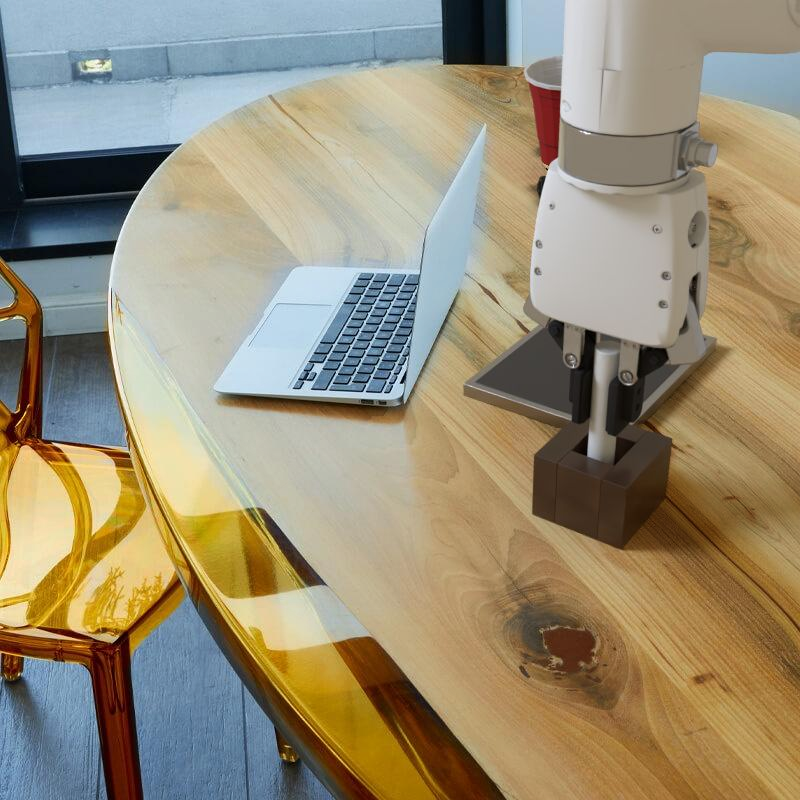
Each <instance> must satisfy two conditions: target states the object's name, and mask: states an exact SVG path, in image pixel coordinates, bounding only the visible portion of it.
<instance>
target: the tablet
mask: <svg viewBox="0 0 800 800" xmlns="http://www.w3.org/2000/svg"><path fill="white" fill-rule="evenodd" d="M703 337H704V341H705V344H706V349H707V351H706V353H705V354H704V355H703V356H702V357H701V358H700V359H699V360H698V361H697V362H696V363H694V364H686V365H672V366H671V365H663V366H662V367H660V368H659V369H657V370H655V371H653V372H652V373H650V374H648V375H646V376H645V386H644V396H643V406H642V411H641V414H640V416H639V418H638V419H637V420H636V421H635V422H634V423H631V422H630V423H629V424H630V425H633V426H636V427H639V428H642V426H643V425H644V424H646V422H647V421H648V420H649V419H650V418H651V417H652V415H653V414H655V413H656V412H657V410H658V409H659V408H660V407H661V406H662V405H663V404H665V402H667V400H668V399H669V398H670V397H671V396H672V395H673V394H674V393H675V392H676V391H677V390H678V389H679V388H680V387H681V386H682V385H683V383H684V382H686V380H688V379H689V378H690V376H691V375H693V373H694V372H695V371H697V369H698V368H699V367H700V366H701V365H702V364H703V363H704V362H705V361H706V360H707V359H708V358H709V357H710V356H711V355H712V354H713V352H715V351H716V349H717V344H718V343H717V342H718V338H717V337H715V336H711V335H707V334H703ZM602 341H615V342H618V343H620V344H621V339H619V338H615V337H612V336H608V335H605V334H601V333H600V342H602ZM570 370H571V368H569V367H568V366H566V364H565V363H564V361H563V351H562V350H561V349H560V347H559V346H558V344H557V343H556V342H555V340H554V339H553V338H552V336H551V335H550V333H549V332H548V329H547V328H543V327H542V326H540V325H539V324H538V325H537V326H535V327H534V328H533V329H532V330H529V332H528V333H526V334H525V335H524V336H522V337H521V338H520V339H518V340H517V341H516V342H515V343H514V344H512V345H511V346H510V347H509V348H507V349H506V350H505V351H503V352H502V353H500V355H498V356H497V357H496V358H495V359H493V360H492V361H491V362H489V363H488V364H486V365H485V366H484V367H483V368H481V370H478V372H476V373H475V374H474V375H473V376H471V377H470V378H468V380H466V381H465V382H464V383H463V390H462V391H463V392H462V393H463V396H465V397H468V398H471V399H474V400H477V401H480V402H483V403H486V404H488V405H492V406H494V407H497V408H499V409H503V410H506V411H508V412H511V413H515V414H517V415H520V416H523V417H526V418H529V419H532V420H536V421H538V422H540V423H543V424H547V425H549V426H552V427H555V428H558V429H560V430H561V429H562V428H563V427H564V426H565V425H566V424H567V423H569V422H570V421H571V420H572V404H573V403H571V402H569V387H570Z"/></svg>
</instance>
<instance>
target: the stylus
mask: <svg viewBox="0 0 800 800" xmlns="http://www.w3.org/2000/svg"><path fill="white" fill-rule="evenodd" d="M620 348H621V344H620V343H618V342H615V341H602V342H599V343H597V344H596V346H595V353H594V367H593V382H592V396H591V410H590V425H589V439H588V453H587V456H588V457H590V458H593V459H596V460H599V461H602V462H605V463H607V464H610V465H613V466H614V458H615V446H616V437H614V436H611V435H608V434H607V432H606V431H605V428H606V415H607V402H608V389H609V384H610V382H611V381H612V380H613V379H614V378H615V377H616V376H617V372H618V369H619V358H620Z"/></svg>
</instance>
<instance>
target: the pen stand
mask: <svg viewBox="0 0 800 800" xmlns="http://www.w3.org/2000/svg"><path fill="white" fill-rule="evenodd" d="M589 425H590V418H589V419H588V420H587V421H586V422H585V423H581V424H580V425H579V424H576V423H573V422H572V420H571V421H570V422H569V423H567V424H566V425H565V426H564V427H563V428H562V429H561V428H560V430H558V431H557V432H556V433H555V434H554V435H553V436H552V437H551V438H550V439H549V440H548V441H547V442H545V444H544V445H542V446H541V448H539V449H538V450H537V451H536V452H535V453H534V454H533V470H532V497H531V498H532V502H531V507H532V508H531V514H532V515H534V516H536V517H538V518H541V519H544V520H545V521H548V522H551V523H554V524H556V525H558V526H561V527H563V528H566V529H569V530H571V531H573V532H576V533H578V534H581V535H584V536H586V537H589V538H590V539H594V540H597V541H599V542H601V543H603V544H607V545H609V546H611V547H614V548H617V549H619V550H623V548H625V546H626V545H627V544H628V543H629V542H630V540H631V539H632V538H633V537H634V536H635V534H636V533H637V532H638V531H639V529H640V528H641V527H642V526H643V525H644V524H645V523H646V522H647V520H648V519H649V518H650V517H651V516H652V514H653V513H654V512H655V511H656V510H657V509H658V508H659V506H660V505H661V504H662V503H663V502H664V500H665V499H666V498H667V493H668V492H667V491H668V481H669V474H670V465H671V457H672V448H673V440H674V439H673V437H670V436H667V435H664V434H661V433H658V432H654V431H652V430H648V429H646V428H642V427H640V428H639V427H636V426H633V425H630V424H628V425H627V426H626V427H625V428H624V429H623V430H622V431H621V432H620V433H619V434H618V435H617V436H616V446H615V458H614V466H613V465H610V464H607V463H605V462H602V461H599V460H596V459H593V458H590V457H588V456H587V453H588V439H589Z"/></svg>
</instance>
